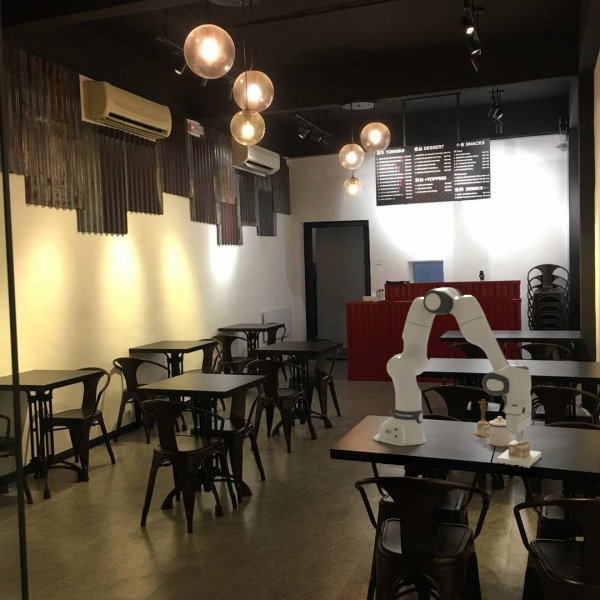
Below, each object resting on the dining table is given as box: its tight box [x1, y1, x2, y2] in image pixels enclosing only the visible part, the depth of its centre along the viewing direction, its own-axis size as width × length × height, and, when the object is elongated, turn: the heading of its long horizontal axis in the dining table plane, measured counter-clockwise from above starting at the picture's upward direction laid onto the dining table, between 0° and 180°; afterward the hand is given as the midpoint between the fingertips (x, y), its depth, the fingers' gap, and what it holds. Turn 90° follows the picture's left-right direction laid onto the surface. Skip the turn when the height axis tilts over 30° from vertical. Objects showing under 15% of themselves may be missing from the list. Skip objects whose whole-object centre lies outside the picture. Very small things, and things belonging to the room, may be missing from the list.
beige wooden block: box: [507, 439, 531, 458], centre depth 242 cm, size 6×6×4 cm
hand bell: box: [473, 398, 489, 437], centre depth 281 cm, size 8×8×16 cm
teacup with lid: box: [482, 415, 512, 447], centre depth 265 cm, size 12×9×12 cm
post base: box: [496, 449, 542, 469], centre depth 242 cm, size 12×16×5 cm
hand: (519, 441), depth 242 cm, fingers closed
